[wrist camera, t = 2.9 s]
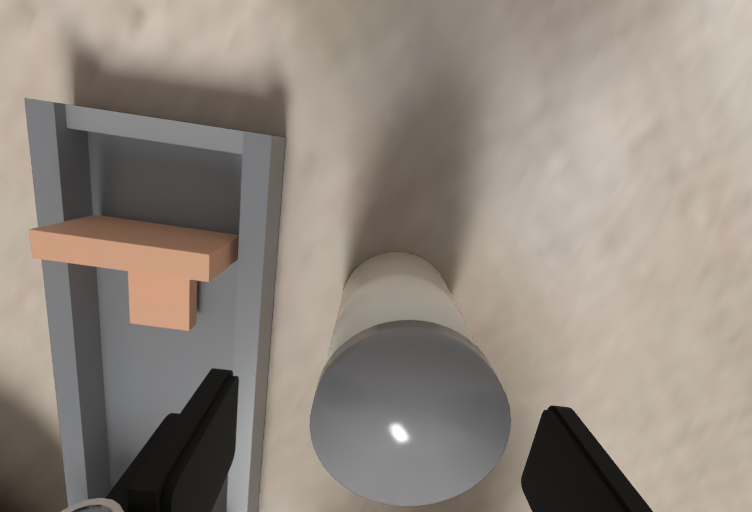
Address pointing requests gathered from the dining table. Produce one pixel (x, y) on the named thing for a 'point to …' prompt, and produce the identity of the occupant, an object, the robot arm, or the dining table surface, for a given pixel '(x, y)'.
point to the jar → (406, 390)
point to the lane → (111, 290)
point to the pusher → (143, 261)
